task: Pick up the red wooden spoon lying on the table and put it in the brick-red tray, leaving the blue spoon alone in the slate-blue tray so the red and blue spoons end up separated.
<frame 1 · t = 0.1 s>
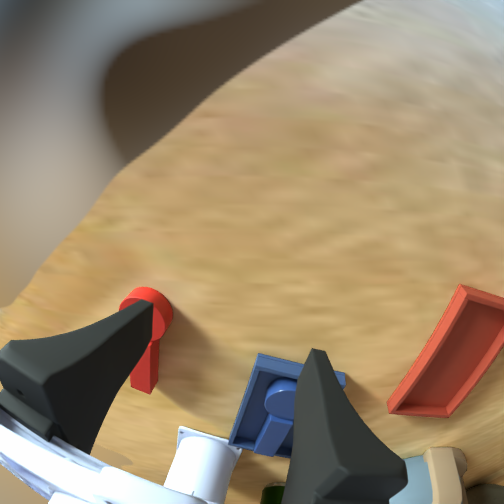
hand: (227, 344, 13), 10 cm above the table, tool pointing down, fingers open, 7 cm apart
blue tray: (280, 409, 29), on the table
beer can: (281, 487, 37), on the table
alarm clock: (403, 479, 33), on the table
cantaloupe: (475, 485, 34), on the table
red spoon: (149, 335, 27), on the table
red tray: (453, 356, 23), on the table
blue spoon: (281, 411, 28), resting on blue tray
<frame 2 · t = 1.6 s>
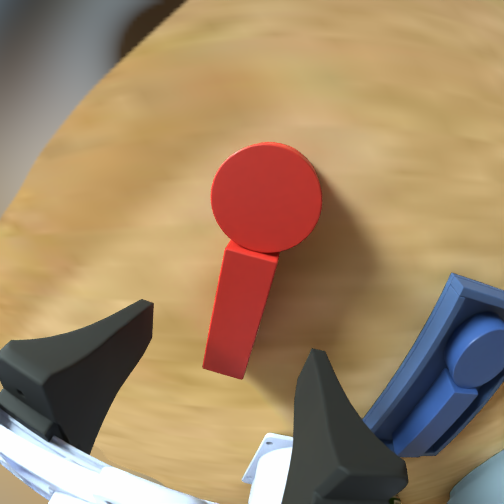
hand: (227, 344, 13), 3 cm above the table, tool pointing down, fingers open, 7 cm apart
blue tray: (444, 379, 16), on the table
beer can: (377, 499, 24), on the table
red spoon: (254, 256, 15), on the table
blue spoon: (448, 380, 16), resting on blue tray
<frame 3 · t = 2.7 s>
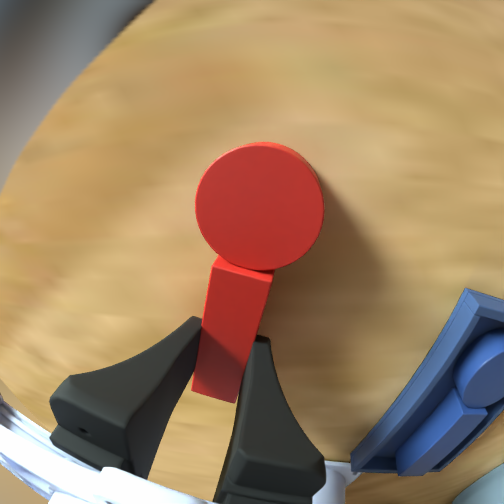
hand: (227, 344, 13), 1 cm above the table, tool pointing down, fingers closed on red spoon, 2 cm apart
blue tray: (451, 397, 15), on the table
red spoon: (246, 270, 13), on the table, touching gripper
blue spoon: (456, 398, 14), resting on blue tray
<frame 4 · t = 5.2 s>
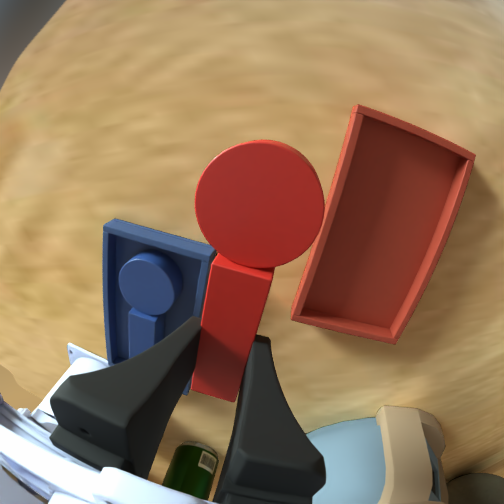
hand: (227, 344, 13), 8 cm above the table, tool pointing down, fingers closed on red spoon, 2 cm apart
blue tray: (154, 312, 24), on the table
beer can: (199, 450, 32), on the table
alarm clock: (358, 456, 29), on the table
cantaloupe: (463, 475, 30), on the table
red spoon: (246, 269, 13), point 7 cm above the table, touching gripper
red tray: (380, 232, 19), on the table
blue spoon: (153, 311, 23), resting on blue tray
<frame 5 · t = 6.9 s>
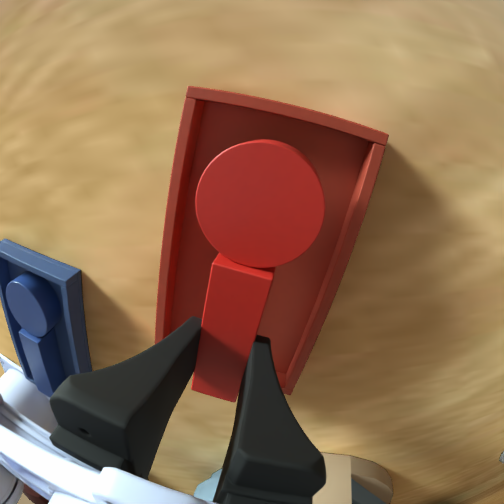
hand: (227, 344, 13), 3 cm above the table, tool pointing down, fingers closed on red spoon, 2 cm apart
blue tray: (50, 331, 20), on the table
alarm clock: (293, 493, 25), on the table
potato: (66, 462, 34), on the table
red spoon: (247, 268, 13), point 2 cm above the table, touching gripper
red tray: (253, 254, 15), on the table
blue spoon: (46, 331, 20), resting on blue tray
when the fingers open (2 cm above the table, at t = 7.7 s): red spoon stays where it is, resting on red tray.
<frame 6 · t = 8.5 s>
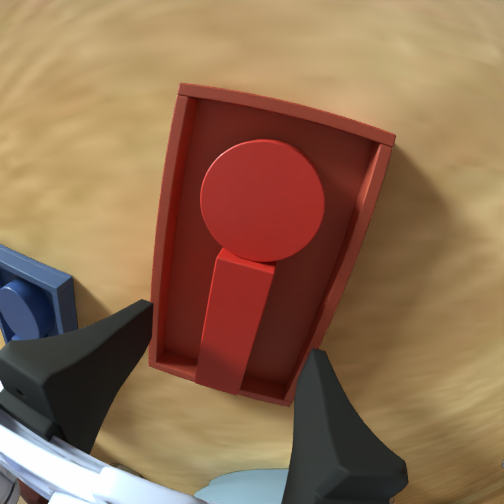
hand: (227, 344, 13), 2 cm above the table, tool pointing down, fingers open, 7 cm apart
blue tray: (43, 337, 19), on the table
alarm clock: (293, 500, 24), on the table
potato: (64, 465, 33), on the table
red spoon: (249, 263, 14), resting on red tray
red tray: (250, 262, 14), on the table
blue spoon: (40, 337, 19), resting on blue tray
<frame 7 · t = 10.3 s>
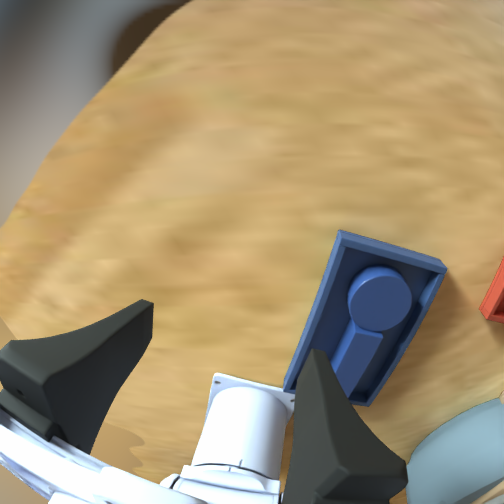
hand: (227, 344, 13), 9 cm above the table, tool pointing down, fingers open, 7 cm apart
blue tray: (358, 327, 22), on the table
alarm clock: (471, 438, 27), on the table
blue spoon: (360, 327, 22), resting on blue tray
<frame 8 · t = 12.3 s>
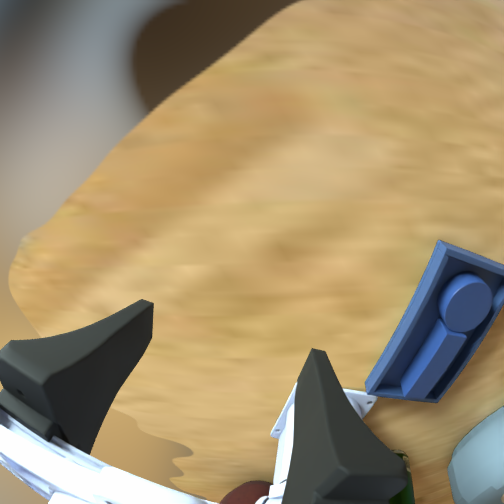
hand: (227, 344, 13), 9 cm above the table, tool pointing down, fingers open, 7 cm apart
blue tray: (439, 329, 22), on the table
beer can: (387, 457, 30), on the table
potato: (262, 485, 36), on the table
blue spoon: (442, 329, 21), resting on blue tray
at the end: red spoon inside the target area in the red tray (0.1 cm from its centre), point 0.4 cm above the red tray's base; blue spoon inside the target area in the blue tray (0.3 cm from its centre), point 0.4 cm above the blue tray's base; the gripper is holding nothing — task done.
